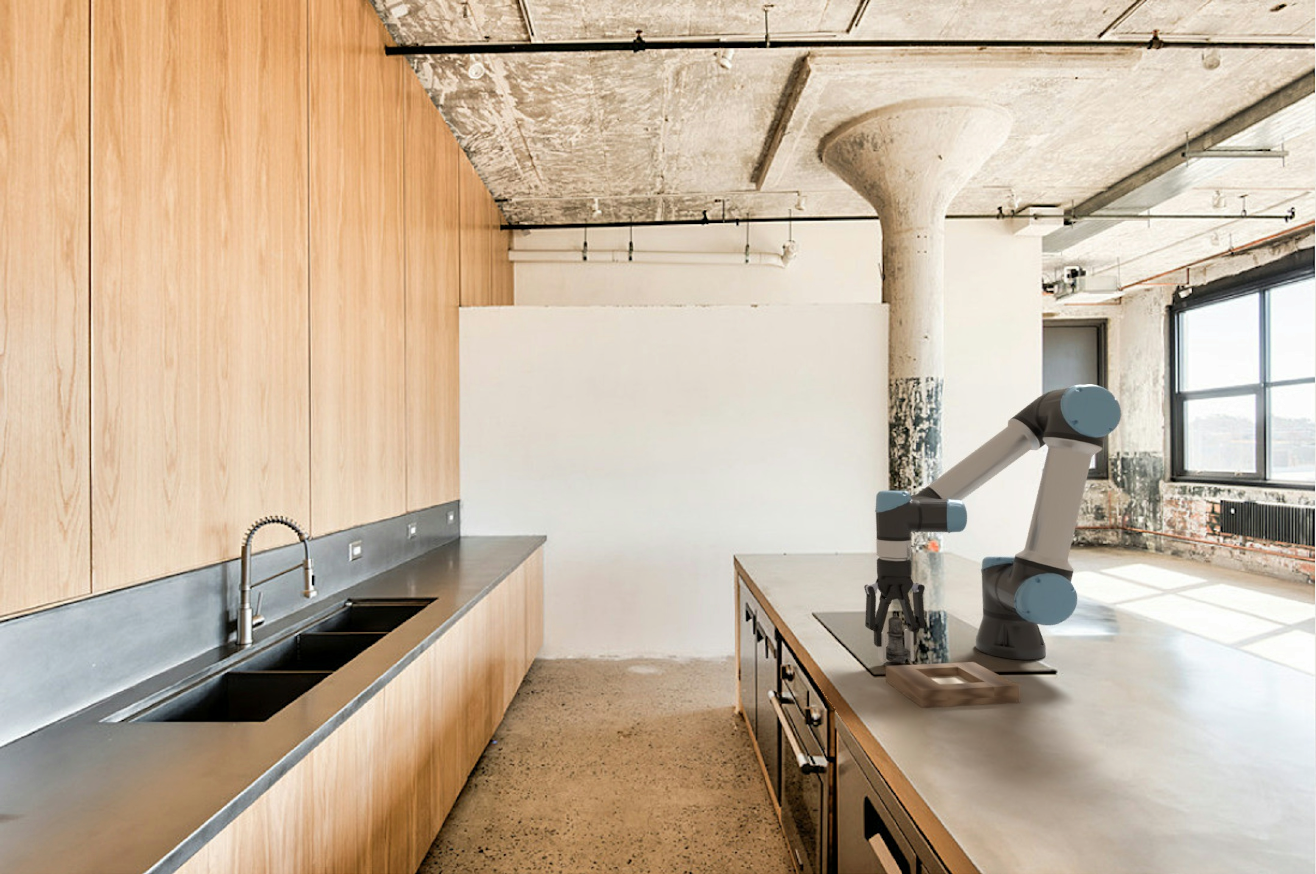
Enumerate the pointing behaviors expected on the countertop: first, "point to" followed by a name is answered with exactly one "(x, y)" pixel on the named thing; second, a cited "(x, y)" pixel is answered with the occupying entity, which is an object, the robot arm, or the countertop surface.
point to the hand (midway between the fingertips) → (895, 659)
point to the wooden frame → (951, 684)
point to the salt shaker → (895, 643)
